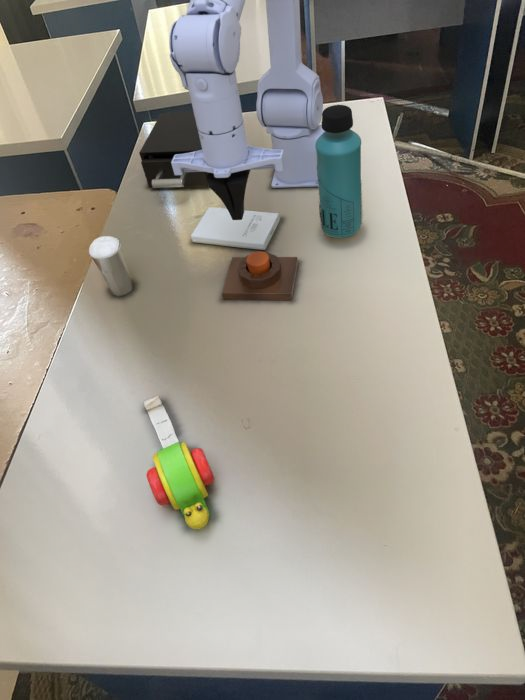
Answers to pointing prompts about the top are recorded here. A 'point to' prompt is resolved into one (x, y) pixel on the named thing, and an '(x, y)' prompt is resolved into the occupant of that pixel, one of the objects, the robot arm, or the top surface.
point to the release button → (258, 262)
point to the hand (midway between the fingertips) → (238, 215)
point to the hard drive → (236, 229)
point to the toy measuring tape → (178, 470)
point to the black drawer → (170, 174)
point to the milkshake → (111, 264)
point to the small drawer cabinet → (172, 136)
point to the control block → (261, 280)
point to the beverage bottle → (339, 173)
